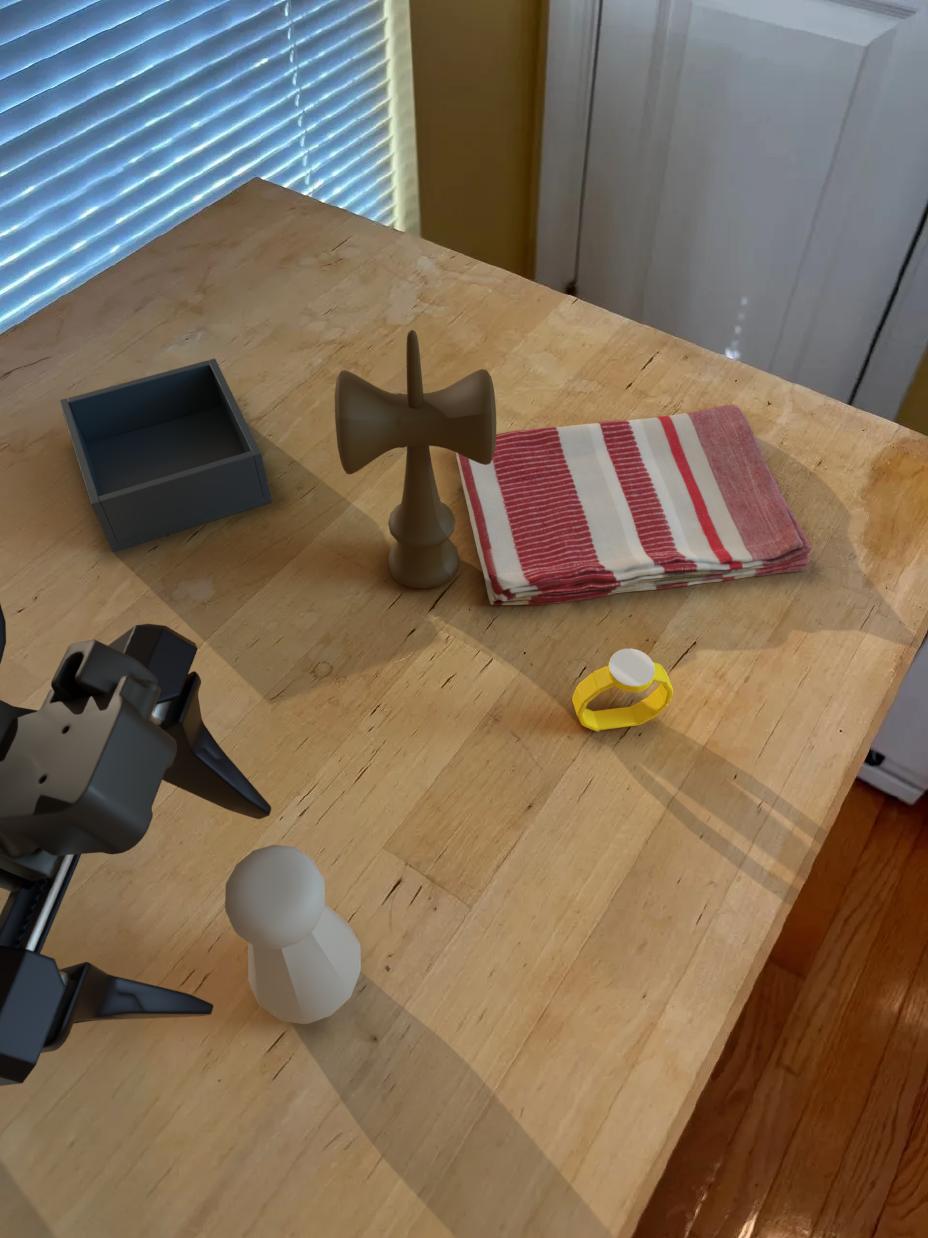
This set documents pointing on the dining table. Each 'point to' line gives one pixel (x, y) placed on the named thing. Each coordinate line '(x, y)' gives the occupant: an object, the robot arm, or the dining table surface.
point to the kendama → (417, 456)
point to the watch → (628, 675)
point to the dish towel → (628, 508)
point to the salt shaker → (291, 935)
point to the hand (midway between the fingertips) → (238, 906)
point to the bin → (165, 454)
